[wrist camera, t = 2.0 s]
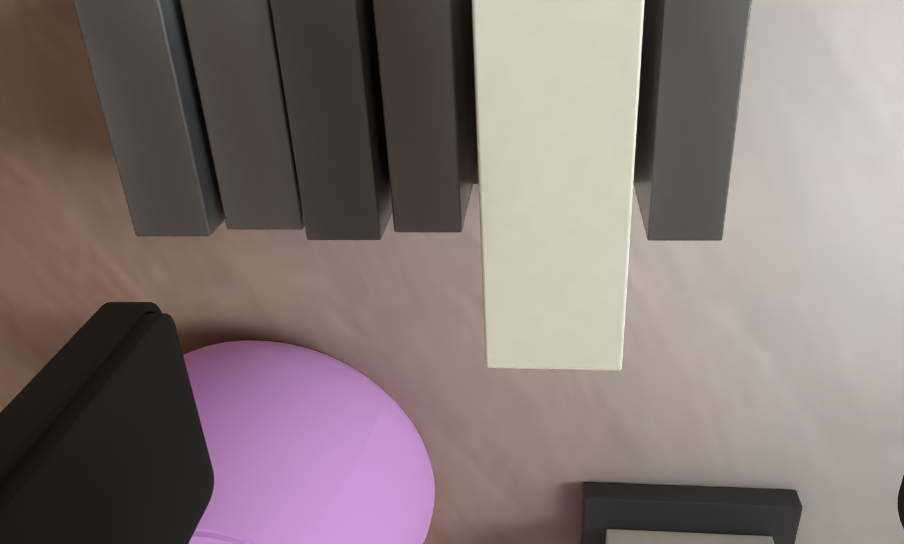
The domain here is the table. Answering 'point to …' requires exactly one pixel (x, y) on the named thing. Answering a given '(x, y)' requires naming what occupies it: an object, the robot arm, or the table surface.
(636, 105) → the white book
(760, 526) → the cubes on dark base
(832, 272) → the table surface
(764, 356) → the table surface
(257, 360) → the teapot
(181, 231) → the grey book rack
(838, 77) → the table surface
